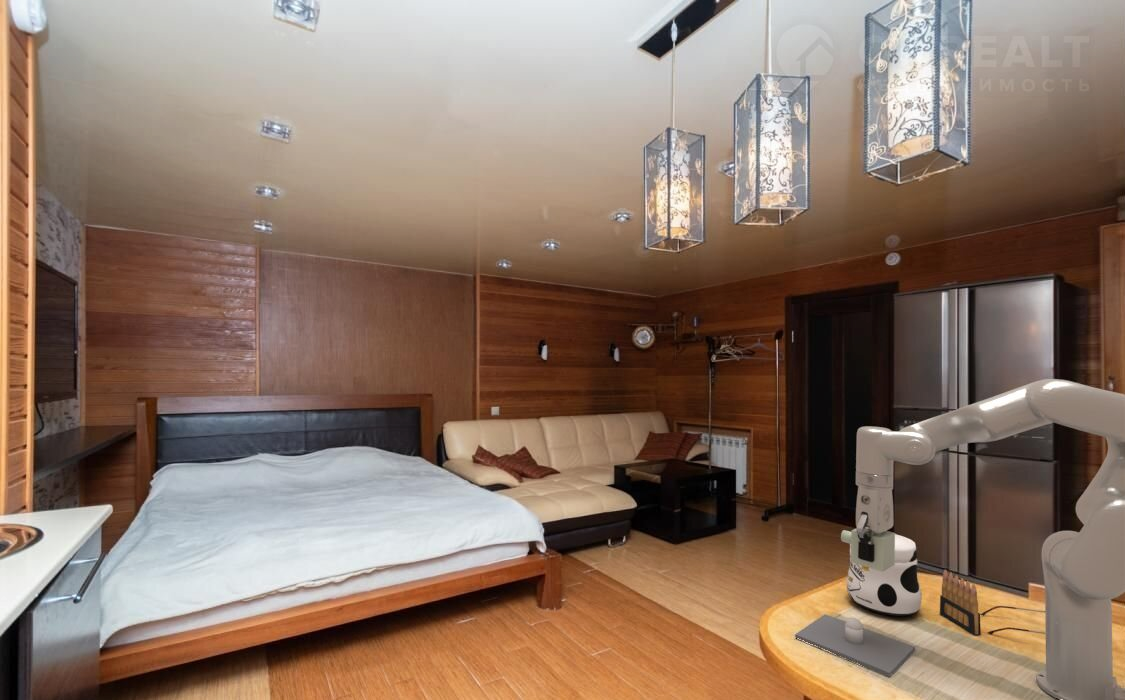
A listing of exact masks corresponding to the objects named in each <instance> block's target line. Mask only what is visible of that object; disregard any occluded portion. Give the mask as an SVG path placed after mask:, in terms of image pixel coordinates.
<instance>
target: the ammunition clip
mask: <svg viewBox="0 0 1125 700" xmlns="http://www.w3.org/2000/svg"><path fill="white" fill-rule="evenodd" d="M941 582H942V584H941V594H940V598H939V615H940V616H941V617H943V618H945V619H946V620H948V621H949V622H951V623H953V624H954V625H956V626H957V627H959V628H960V629H962V630H964V631H966V632H968V633H969V634H970V635H972V636H981V635H982V631H981V630H982V629H981V616H980V614H981V613H979V602H978V592H977V590H978V589H977V586H976V585H975V583H972V585H971V583H970V581H969V580H967V581H966V582H965V580H964V578H963V577H961V578H960V579H959V577H958V575H957V574H955V576H954V575H953V573H952V572H949V574H948V571H947V569H944V571H943V573H942V581H941Z"/></svg>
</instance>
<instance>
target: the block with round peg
mask: <svg viewBox="0 0 1125 700" xmlns="http://www.w3.org/2000/svg"><path fill="white" fill-rule="evenodd" d="M865 529H869V530H871V528H869V527H866V528H865ZM865 533H866V534H867V535H868V537H869V535H870V533H867V532H865ZM895 534H896V533H895V532H894V531H893V532H892V531H888V530H887V531H884V532H882V533H879V534H877V533H875V534H874V539H873V544H874V562H869V561H865V560H862V559H859V558H858V534H857V531H856V528H854V529H852V530H851V531H849V530H845V529H843V530H842V531H841V534H840V540H841V542H843V543H846V544H849V545H850V544H851V562H852V563H855V564H859V565H862V566H865V567H869V568H872V569H875V570H878V571H882V572H884V571H885V570H887V569H888V568H890V567H892V566H893V565H894V559H895Z"/></svg>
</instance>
